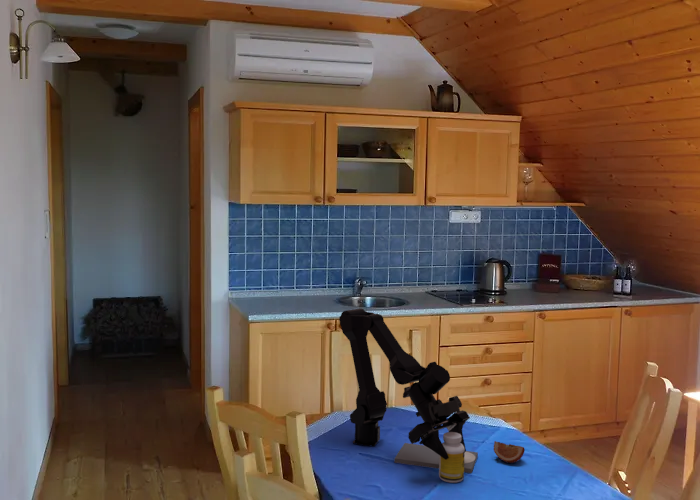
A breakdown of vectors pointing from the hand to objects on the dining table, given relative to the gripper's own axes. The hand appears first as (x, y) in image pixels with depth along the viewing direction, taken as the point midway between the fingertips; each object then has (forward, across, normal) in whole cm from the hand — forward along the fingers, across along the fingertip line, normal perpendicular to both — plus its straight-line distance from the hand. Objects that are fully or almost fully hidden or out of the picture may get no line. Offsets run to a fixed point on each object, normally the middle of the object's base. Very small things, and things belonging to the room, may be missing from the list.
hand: (456, 455), depth 185 cm
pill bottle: (+4, 0, +6) cm, 7 cm away
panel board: (-4, +6, +13) cm, 15 cm away
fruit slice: (+6, +21, +4) cm, 22 cm away
